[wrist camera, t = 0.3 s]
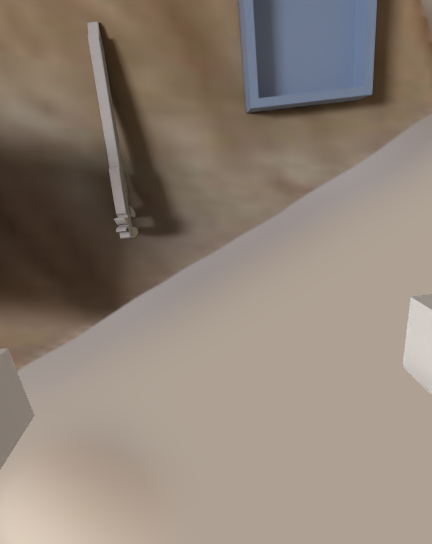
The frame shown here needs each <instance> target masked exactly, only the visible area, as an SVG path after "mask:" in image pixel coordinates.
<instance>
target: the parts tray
mask: <svg viewBox="0 0 432 544" xmlns="http://www.w3.org/2000/svg"><path fill="white" fill-rule="evenodd" d="M238 6H239V20H240V34H241V48H242V62H243V76H244V90H245V104H246V113H252V112H261V111H270V110H278V109H287V108H296V107H304V106H313V105H321V104H330V103H339V102H347V101H356V100H359V99H362V98H364V97H367V96H370V95H372V90H373V70H374V51H375V31H376V11H377V0H238Z"/></svg>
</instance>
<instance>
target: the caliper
mask: <svg viewBox="0 0 432 544" xmlns="http://www.w3.org/2000/svg"><path fill="white" fill-rule="evenodd" d="M88 31H89V34H88V40H89V46H90V52H91V58H92V64H93V70H94V76H95V83H96V89H97V95H98V101H99V107H100V113H101V119H102V125H103V131H104V137H105V143H106V149H107V155H108V161H109V167H110V168H109V174H110V180H111V186H112V193H113V199H114V205H115V211H116V215H117V216H118V218H114V220H115V222H116V224H117V225H119V227H117V229H116V232H119V234H120V238H123V239H130V238H135V237H136V236H137V234H138V233H139V228H136V227H133V226H132V223H131V218H133V217H136V213H135V211H134V210H133V208H132V207H131V205H130V204H129V199H128V187H127V182H126V174H125V172H124V171H123V166H122V159H121V153H120V147H119V140H118V134H117V128H116V122H115V115H114V109H113V103H112V96H111V90H110V84H109V77H108V71H107V65H106V58H105V53H104V48H103V43H102V39H101V34H100V28H99V23H98V22H91V23H88Z"/></svg>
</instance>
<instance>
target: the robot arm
mask: <svg viewBox="0 0 432 544" xmlns="http://www.w3.org/2000/svg"><path fill="white" fill-rule="evenodd" d="M403 367H404V368H405V369H406V370H407V371H408V372H409V373H410V374H411V375H412V376H413V377H414V378H415V379H416V380H417V381H418V382H419V383H420V384H421V385H422V386H423V387H424V388H425V389H426V390H427V391H428V392H429V393H430V394H431V395H432V294H430V295H422V296H414V297H411V300H410V309H409V317H408V326H407V334H406V342H405V350H404V359H403ZM33 417H34V414H33V411H32V409H31V406H30V404H29V401H28V398H27V396H26V393H25V391H24V389H23V386H22V383H21V381H20V378H19V375H18V373H17V370H16V368H15V365H14V363H13V360H12V358H11V355H10V353H9V350H8V348H5V349H0V469H1V467H2V466H3V464H4V463H5V461H6V460H7V458H8V456H9V455H10V453H11V452H12V450H13V448H14V447H15V445H16V444H17V442H18V441H19V439H20V437H21V436H22V434H23V433H24V431H25V429H26V428H27V426H28V425H29V423H30V422H31V420H32V418H33Z"/></svg>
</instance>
